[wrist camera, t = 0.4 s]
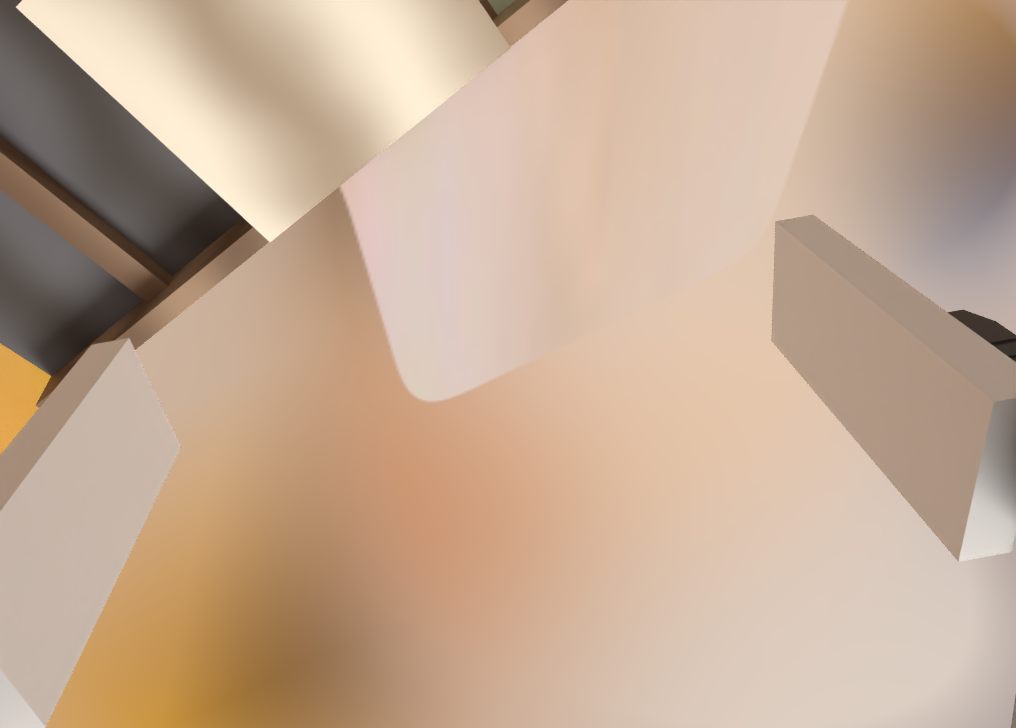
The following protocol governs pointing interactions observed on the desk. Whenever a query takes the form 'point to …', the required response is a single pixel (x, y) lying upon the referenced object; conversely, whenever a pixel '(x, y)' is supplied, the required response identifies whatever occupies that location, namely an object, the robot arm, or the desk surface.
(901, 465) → the robot arm
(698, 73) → the desk surface
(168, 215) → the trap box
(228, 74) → the birch block
